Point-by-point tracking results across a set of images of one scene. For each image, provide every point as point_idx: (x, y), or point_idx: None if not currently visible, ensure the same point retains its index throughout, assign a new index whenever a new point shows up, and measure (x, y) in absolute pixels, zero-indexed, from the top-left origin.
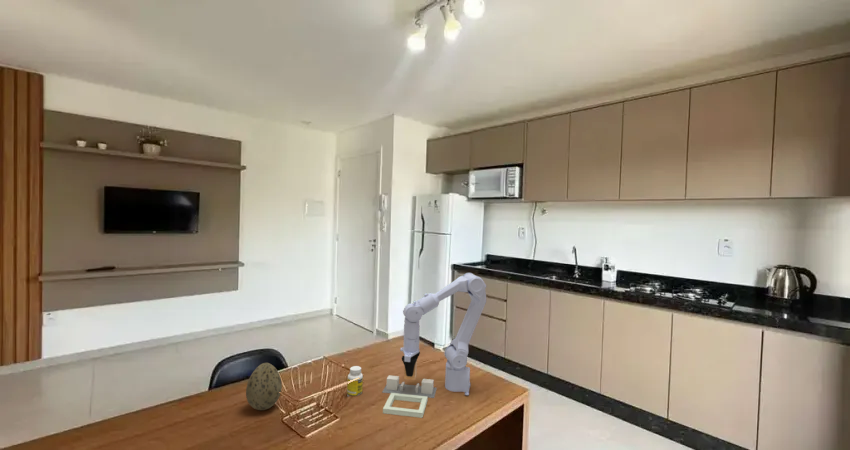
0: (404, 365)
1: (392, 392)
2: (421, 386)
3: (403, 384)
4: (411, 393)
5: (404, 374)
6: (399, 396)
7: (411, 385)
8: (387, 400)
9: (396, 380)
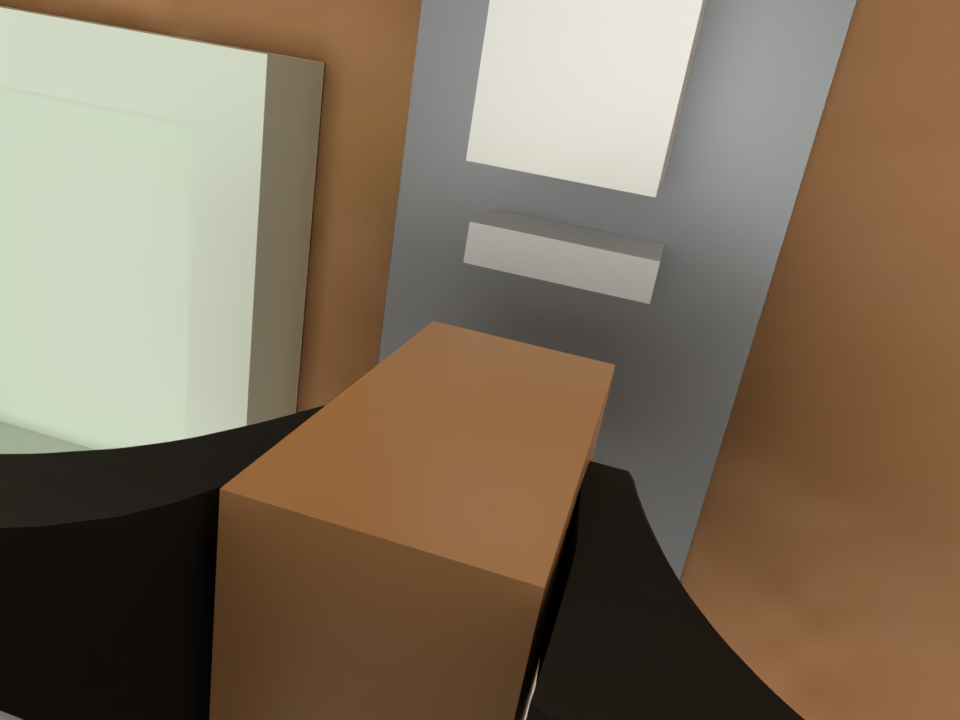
0: (104, 453)
1: (451, 70)
2: (673, 553)
3: (538, 278)
4: None
5: (399, 354)
6: (199, 207)
7: (714, 404)
8: (29, 18)
9: (470, 139)
